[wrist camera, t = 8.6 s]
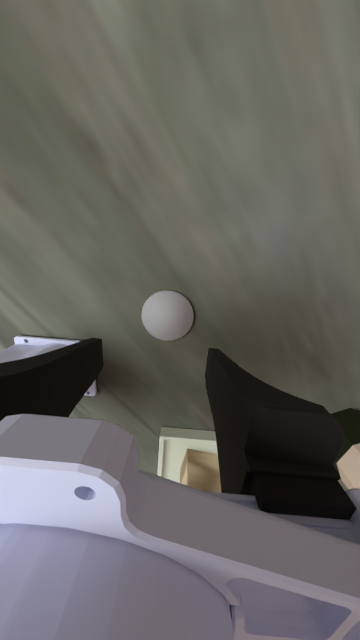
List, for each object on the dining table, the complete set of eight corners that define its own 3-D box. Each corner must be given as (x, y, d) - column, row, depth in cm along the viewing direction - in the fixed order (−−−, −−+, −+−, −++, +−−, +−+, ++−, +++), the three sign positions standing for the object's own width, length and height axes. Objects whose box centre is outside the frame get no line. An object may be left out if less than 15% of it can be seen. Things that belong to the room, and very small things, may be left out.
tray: (157, 481, 30) (156, 492, 28) (161, 426, 26) (159, 436, 25) (229, 487, 30) (231, 498, 28) (242, 433, 26) (246, 443, 25)
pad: (141, 337, 22) (141, 338, 21) (142, 288, 20) (141, 288, 20) (190, 341, 22) (190, 342, 21) (196, 292, 20) (196, 293, 20)
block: (180, 468, 28) (179, 510, 23) (187, 448, 26) (187, 489, 22) (207, 473, 28) (212, 517, 23) (216, 454, 27) (223, 495, 22)
